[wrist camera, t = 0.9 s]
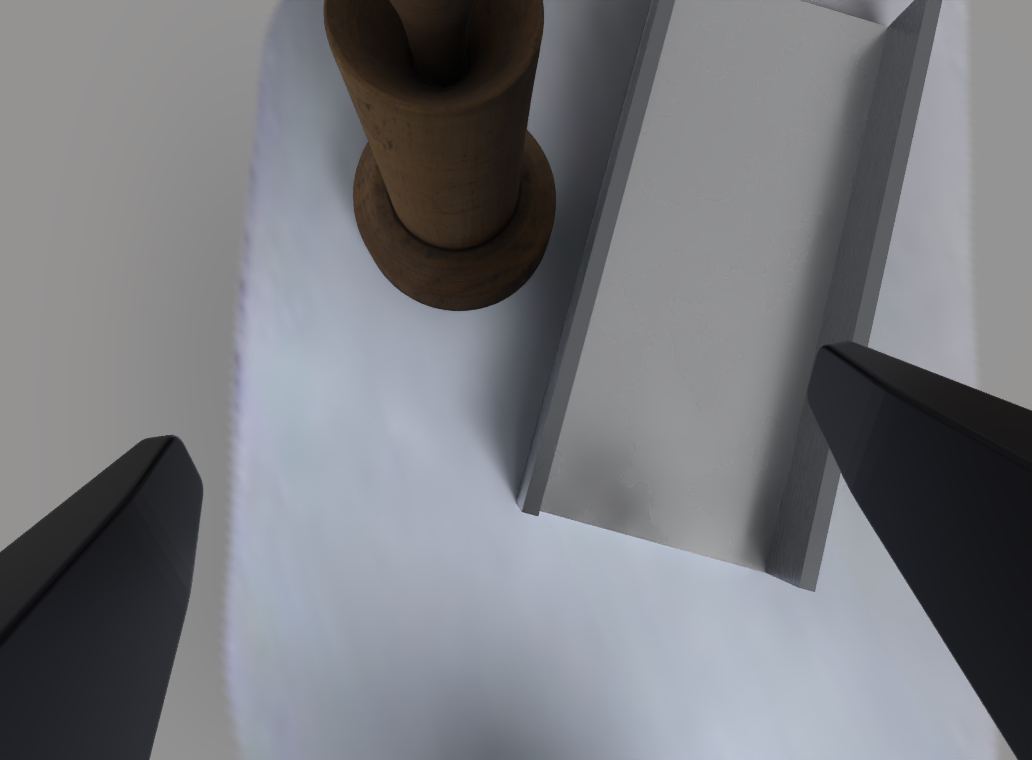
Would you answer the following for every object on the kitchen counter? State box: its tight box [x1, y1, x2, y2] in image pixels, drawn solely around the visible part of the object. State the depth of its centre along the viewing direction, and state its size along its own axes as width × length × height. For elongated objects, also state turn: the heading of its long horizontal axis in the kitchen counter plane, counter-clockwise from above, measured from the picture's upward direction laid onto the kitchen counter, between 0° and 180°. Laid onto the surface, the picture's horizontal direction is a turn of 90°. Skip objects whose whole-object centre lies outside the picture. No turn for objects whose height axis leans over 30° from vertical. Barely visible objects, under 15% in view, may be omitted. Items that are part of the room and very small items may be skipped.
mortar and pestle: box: [324, 0, 556, 311], centre depth 14 cm, size 7×6×18 cm
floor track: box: [516, 0, 942, 592], centre depth 22 cm, size 20×9×3 cm, turn 165°
